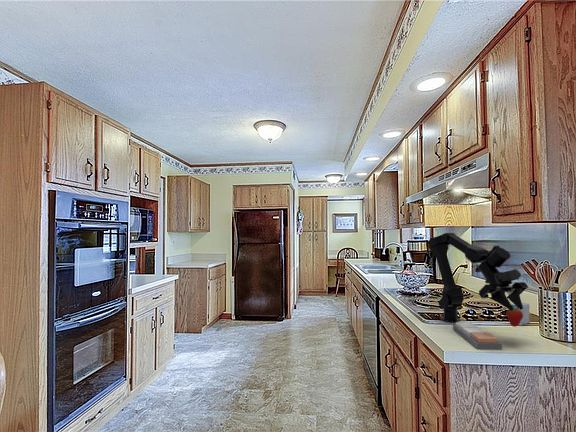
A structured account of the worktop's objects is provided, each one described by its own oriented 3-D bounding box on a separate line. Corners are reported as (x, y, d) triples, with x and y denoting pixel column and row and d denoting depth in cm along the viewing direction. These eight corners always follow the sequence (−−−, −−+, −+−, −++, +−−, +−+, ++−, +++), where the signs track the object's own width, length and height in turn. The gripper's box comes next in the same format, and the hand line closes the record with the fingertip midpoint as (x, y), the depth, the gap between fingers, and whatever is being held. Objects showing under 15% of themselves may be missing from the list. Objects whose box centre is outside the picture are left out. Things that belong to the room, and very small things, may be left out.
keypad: (453, 329, 150) (452, 322, 150) (473, 330, 149) (473, 322, 149) (477, 349, 127) (476, 340, 127) (501, 349, 126) (501, 340, 126)
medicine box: (518, 320, 162) (518, 301, 162) (529, 323, 158) (529, 303, 158) (510, 323, 157) (509, 304, 157) (521, 326, 154) (521, 306, 154)
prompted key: (471, 338, 134) (471, 332, 134) (488, 338, 134) (488, 333, 134) (478, 344, 128) (478, 338, 128) (497, 344, 127) (497, 338, 127)
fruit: (507, 323, 135) (506, 302, 135) (524, 326, 132) (523, 304, 132) (504, 326, 131) (504, 305, 131) (522, 329, 128) (521, 307, 128)
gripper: (484, 263, 133) (510, 299, 122) (523, 261, 138) (551, 295, 127) (468, 280, 141) (492, 315, 130) (506, 278, 146) (531, 311, 135)
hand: (517, 309), depth 130 cm, fingers closed on fruit, 4 cm apart
